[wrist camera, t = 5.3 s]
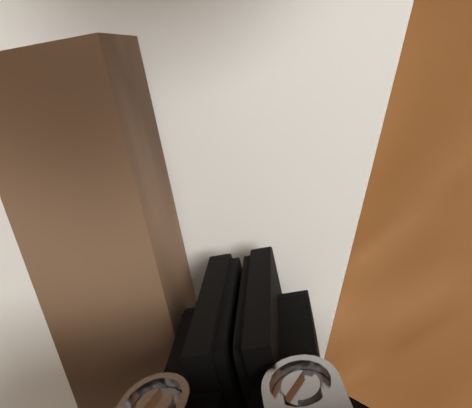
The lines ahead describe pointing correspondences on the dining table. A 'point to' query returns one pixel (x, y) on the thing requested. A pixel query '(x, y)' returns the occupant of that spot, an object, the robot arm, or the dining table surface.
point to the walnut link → (93, 209)
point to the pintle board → (229, 142)
